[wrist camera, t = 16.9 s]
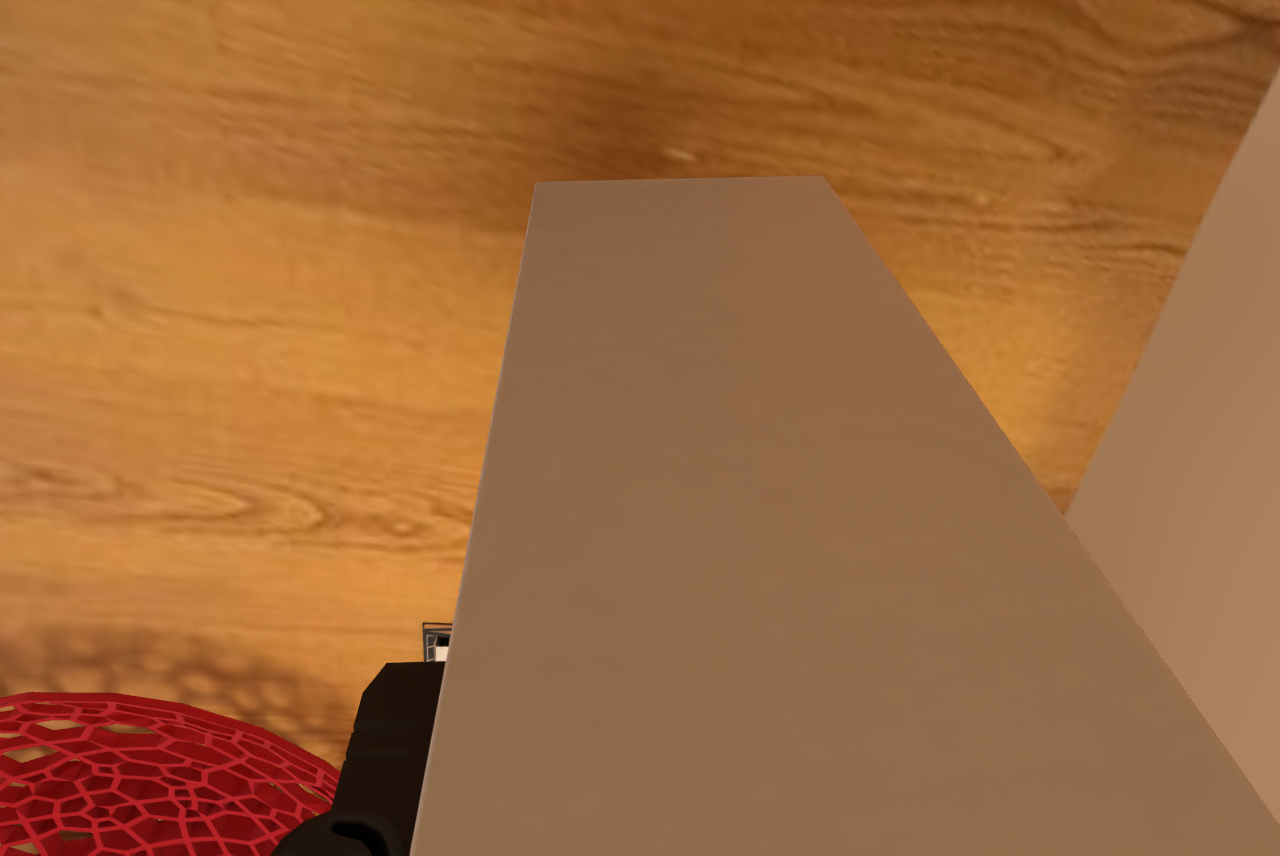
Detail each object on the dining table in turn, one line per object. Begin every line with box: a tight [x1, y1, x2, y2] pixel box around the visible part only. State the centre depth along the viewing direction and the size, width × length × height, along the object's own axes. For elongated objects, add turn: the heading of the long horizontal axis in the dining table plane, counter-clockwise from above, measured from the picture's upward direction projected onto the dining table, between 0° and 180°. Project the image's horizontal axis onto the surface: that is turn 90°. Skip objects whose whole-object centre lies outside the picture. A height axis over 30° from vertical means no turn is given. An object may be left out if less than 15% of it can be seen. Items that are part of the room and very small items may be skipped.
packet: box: [409, 175, 1280, 856], centre depth 13 cm, size 14×5×10 cm
